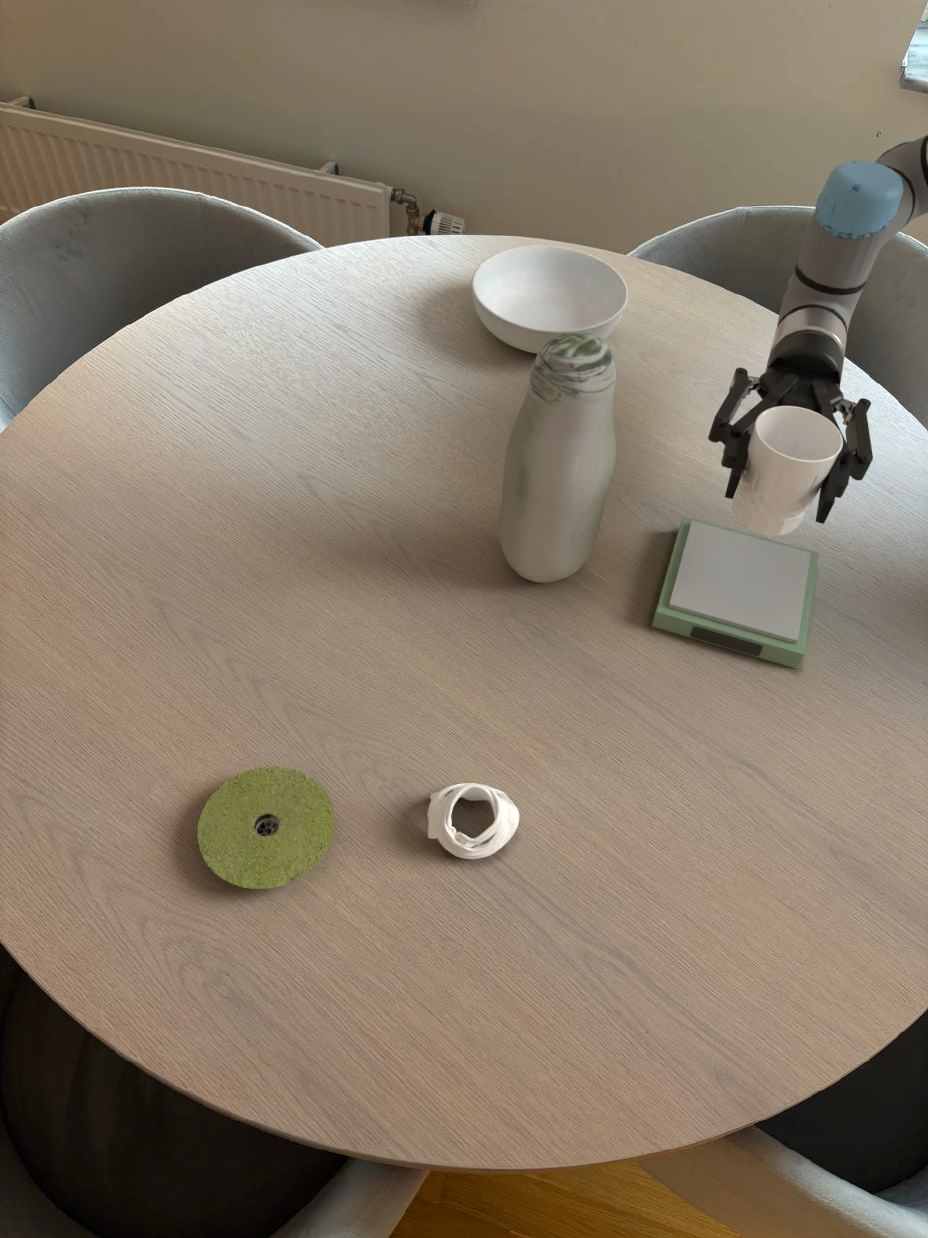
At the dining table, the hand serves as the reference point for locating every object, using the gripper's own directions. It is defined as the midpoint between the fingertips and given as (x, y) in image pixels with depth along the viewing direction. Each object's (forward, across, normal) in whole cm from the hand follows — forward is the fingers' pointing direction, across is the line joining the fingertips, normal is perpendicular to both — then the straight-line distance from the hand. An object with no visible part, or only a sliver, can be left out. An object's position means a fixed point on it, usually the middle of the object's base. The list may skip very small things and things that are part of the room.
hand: (778, 499), depth 86 cm
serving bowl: (-43, +32, -18) cm, 57 cm away
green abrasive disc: (+39, +33, -18) cm, 54 cm away
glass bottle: (0, +20, -18) cm, 27 cm away
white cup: (-5, 0, -6) cm, 8 cm away
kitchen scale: (-4, 0, -17) cm, 18 cm away
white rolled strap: (+32, +17, -18) cm, 40 cm away
